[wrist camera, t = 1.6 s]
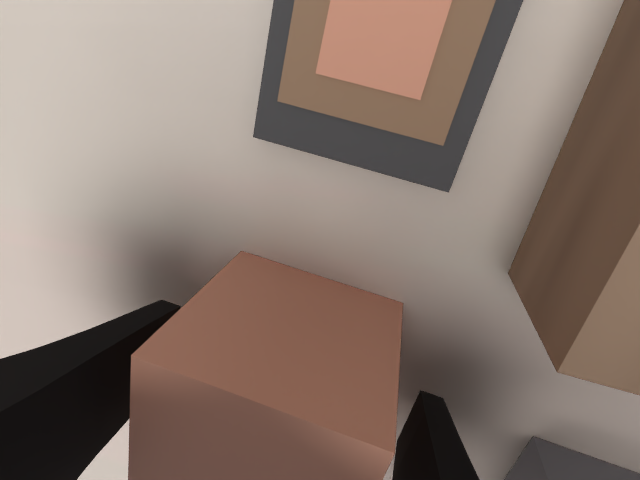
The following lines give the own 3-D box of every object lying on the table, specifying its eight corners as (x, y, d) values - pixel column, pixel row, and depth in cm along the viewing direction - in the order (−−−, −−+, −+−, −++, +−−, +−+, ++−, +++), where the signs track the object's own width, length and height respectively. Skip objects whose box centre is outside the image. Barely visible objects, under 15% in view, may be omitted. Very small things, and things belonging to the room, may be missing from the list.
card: (567, -123, 7) (580, -142, 6) (447, 188, 9) (449, 194, 9) (306, -169, 7) (298, -188, 7) (259, 135, 10) (249, 137, 9)
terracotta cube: (403, 301, 11) (394, 453, 6) (357, 421, 13) (326, 599, 8) (242, 249, 12) (131, 355, 7) (223, 371, 14) (127, 514, 9)
